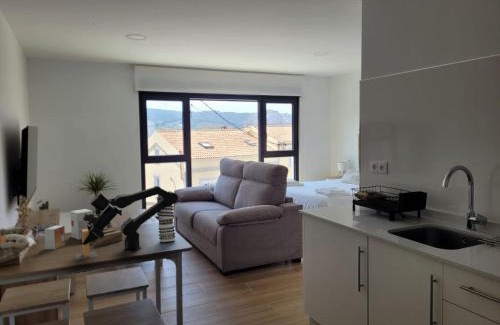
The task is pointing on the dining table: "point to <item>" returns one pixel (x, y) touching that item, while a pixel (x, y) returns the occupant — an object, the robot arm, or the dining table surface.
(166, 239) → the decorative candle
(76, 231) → the supplement box
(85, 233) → the rectangular block
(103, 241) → the rack
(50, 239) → the small box
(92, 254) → the mat
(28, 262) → the dining table surface
